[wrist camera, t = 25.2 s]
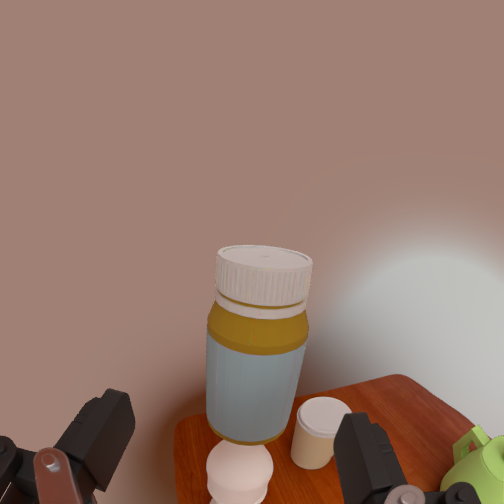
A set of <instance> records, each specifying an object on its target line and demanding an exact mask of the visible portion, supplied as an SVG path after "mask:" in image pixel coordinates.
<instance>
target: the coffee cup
mask: <svg viewBox="0 0 504 504" xmlns="http://www.w3.org/2000/svg"><path fill="white" fill-rule="evenodd" d="M346 413H352V412H351V410H350V409H349V407H348V406H347V405H346V404H344V403H343V402H341V401H339V400H337V399H334V398H330V397H316V398H312V399H309V400H307V401H306V402H305V403H304V404H302V405H301V406H300V408H299V409H298V412H297V421H296V425H295V431H294V436H293V441H292V446H291V458H292V460H293V462H294V463H295V464H296V465H298V466H300V467H302V468H305V469H318V468H321V467H323V466H325V465H326V464H327V463H328V462H329V461H330V459H331V458H332V456H333V455H334V451H333V443H334V438H335V435H336V433H337V431H338V428H339V426H340V423H341V421H342V419H343V416H344V414H346Z"/></svg>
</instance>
